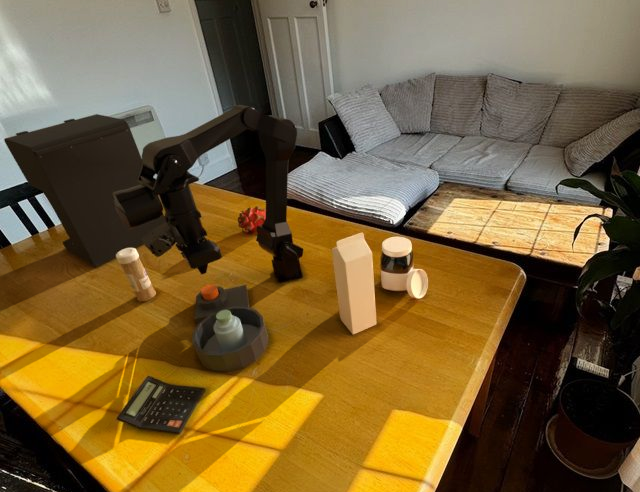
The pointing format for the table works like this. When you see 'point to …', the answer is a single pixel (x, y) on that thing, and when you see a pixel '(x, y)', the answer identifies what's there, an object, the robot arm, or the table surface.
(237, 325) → the bottle
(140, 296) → the sprinkles bottle
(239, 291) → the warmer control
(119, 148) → the dark brown slanted box
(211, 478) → the table surface
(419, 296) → the spread jar
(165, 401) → the calculator
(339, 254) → the milk
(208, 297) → the stop button
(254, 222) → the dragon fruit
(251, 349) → the bottle warmer
